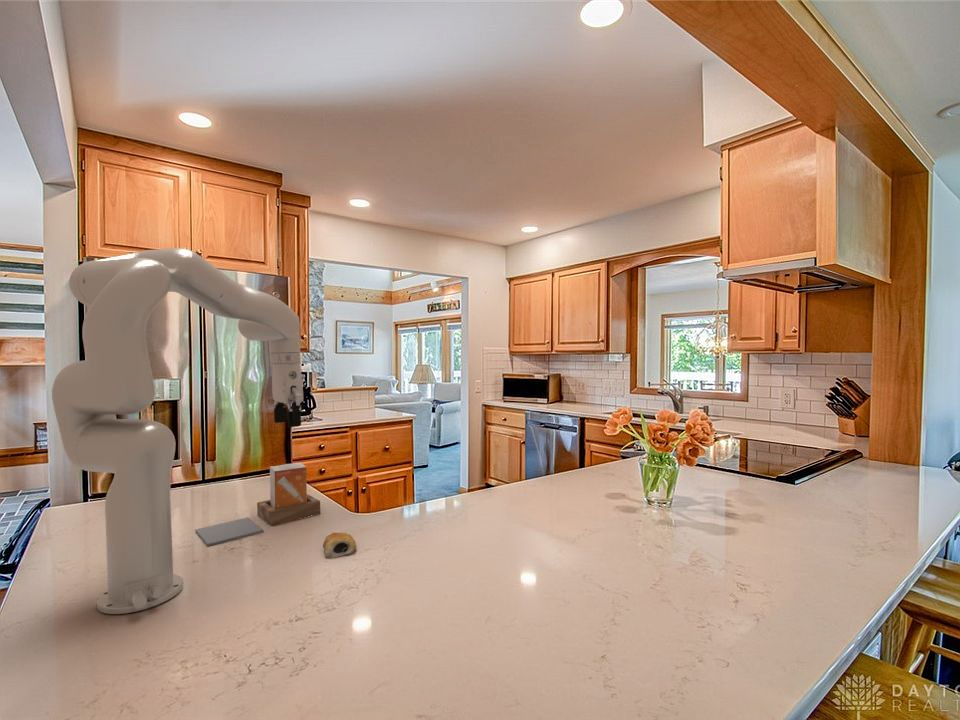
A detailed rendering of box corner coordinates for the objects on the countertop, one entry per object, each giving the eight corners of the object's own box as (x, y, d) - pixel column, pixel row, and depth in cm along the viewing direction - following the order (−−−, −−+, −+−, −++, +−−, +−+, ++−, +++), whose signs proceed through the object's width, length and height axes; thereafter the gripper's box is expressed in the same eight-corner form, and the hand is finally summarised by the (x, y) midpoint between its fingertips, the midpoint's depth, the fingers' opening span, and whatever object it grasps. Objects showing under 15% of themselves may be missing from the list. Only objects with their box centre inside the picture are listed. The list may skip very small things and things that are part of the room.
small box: (275, 521, 122) (273, 471, 122) (270, 514, 127) (269, 466, 127) (307, 515, 126) (306, 466, 126) (302, 508, 132) (301, 461, 131)
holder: (320, 514, 127) (320, 500, 127) (271, 526, 119) (271, 512, 119) (304, 504, 135) (304, 492, 135) (257, 515, 127) (257, 502, 127)
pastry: (320, 544, 108) (320, 527, 108) (351, 539, 111) (351, 522, 111) (325, 560, 99) (325, 542, 99) (358, 555, 102) (358, 537, 102)
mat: (263, 532, 115) (263, 529, 115) (207, 546, 107) (207, 544, 107) (248, 519, 124) (248, 517, 124) (195, 532, 116) (195, 529, 116)
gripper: (312, 359, 122) (314, 426, 123) (287, 358, 135) (289, 419, 136) (282, 360, 117) (285, 430, 118) (259, 359, 130) (261, 422, 130)
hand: (287, 424), depth 127 cm, fingers open, 9 cm apart
